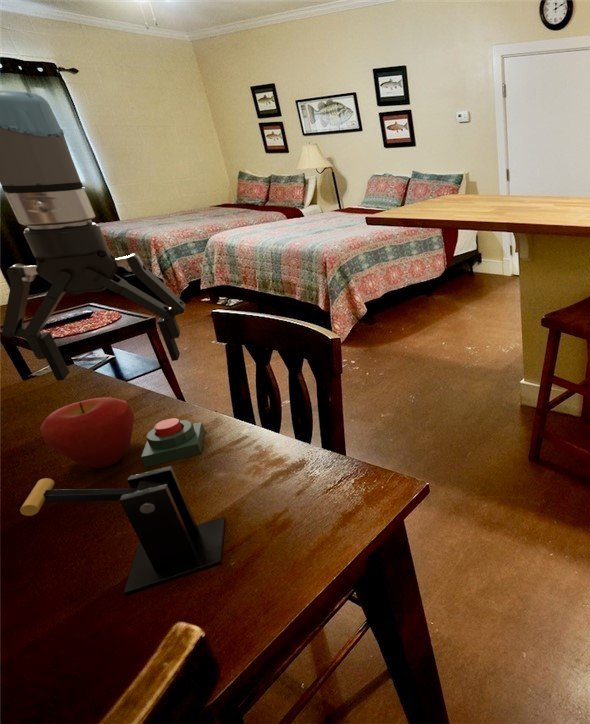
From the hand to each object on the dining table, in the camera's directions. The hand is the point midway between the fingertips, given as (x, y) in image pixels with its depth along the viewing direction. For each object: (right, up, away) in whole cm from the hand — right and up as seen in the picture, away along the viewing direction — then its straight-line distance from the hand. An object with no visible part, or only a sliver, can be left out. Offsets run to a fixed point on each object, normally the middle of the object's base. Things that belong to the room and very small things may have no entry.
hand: (122, 366), depth 72 cm
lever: (+12, -16, -16) cm, 25 cm away
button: (-2, -12, +12) cm, 17 cm away
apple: (-11, -17, +10) cm, 23 cm away
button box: (-2, -15, +13) cm, 20 cm away
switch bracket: (+16, -26, -9) cm, 31 cm away
